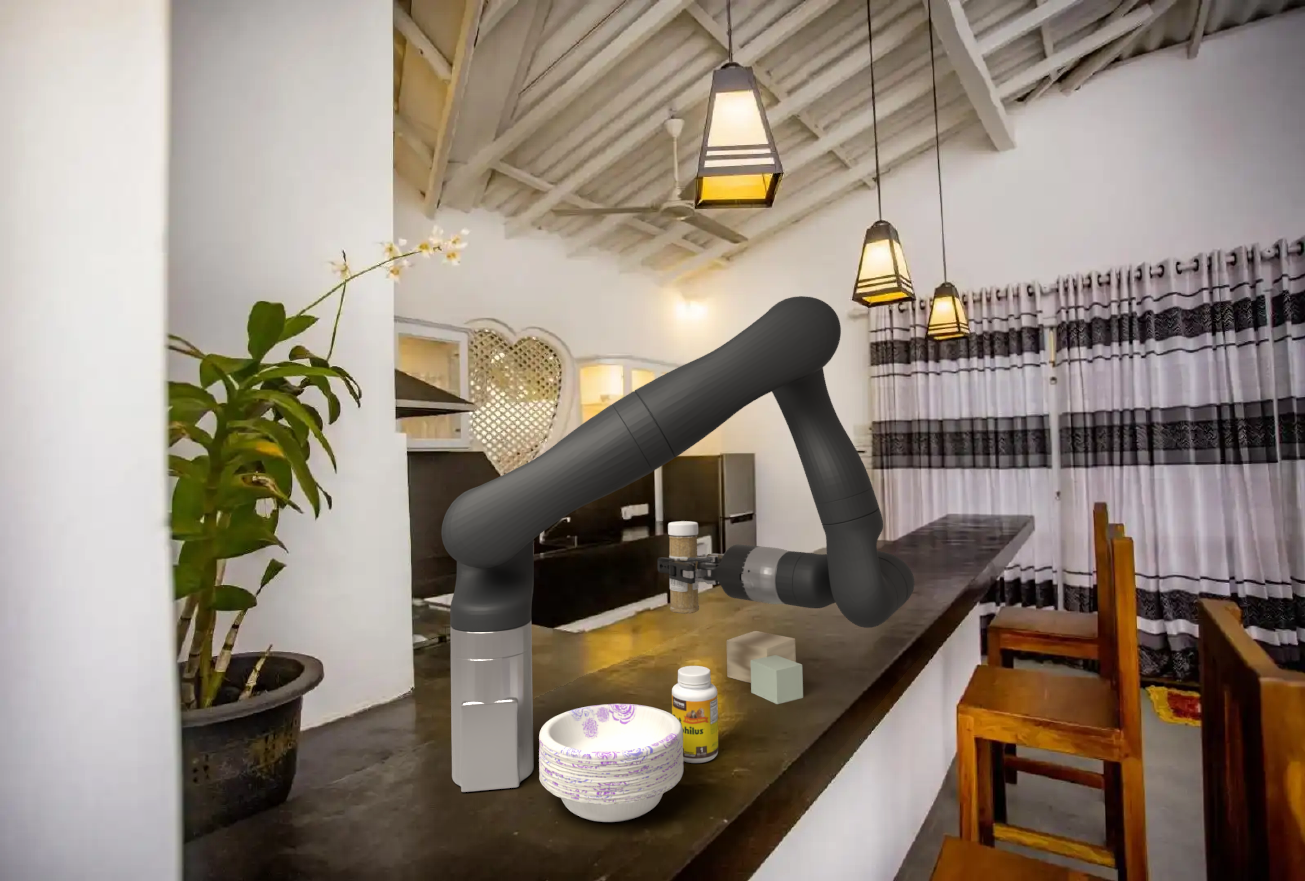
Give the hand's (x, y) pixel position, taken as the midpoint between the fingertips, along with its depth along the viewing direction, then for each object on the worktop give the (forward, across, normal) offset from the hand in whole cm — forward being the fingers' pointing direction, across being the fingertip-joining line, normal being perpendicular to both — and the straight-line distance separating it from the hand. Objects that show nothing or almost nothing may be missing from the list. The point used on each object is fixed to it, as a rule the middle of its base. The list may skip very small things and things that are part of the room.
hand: (670, 562), depth 105 cm
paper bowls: (-18, +28, +20) cm, 39 cm away
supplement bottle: (-17, +14, +20) cm, 30 cm away
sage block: (-15, -9, +18) cm, 25 cm away
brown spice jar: (-3, 0, +7) cm, 8 cm away
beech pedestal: (-6, -16, +20) cm, 26 cm away
